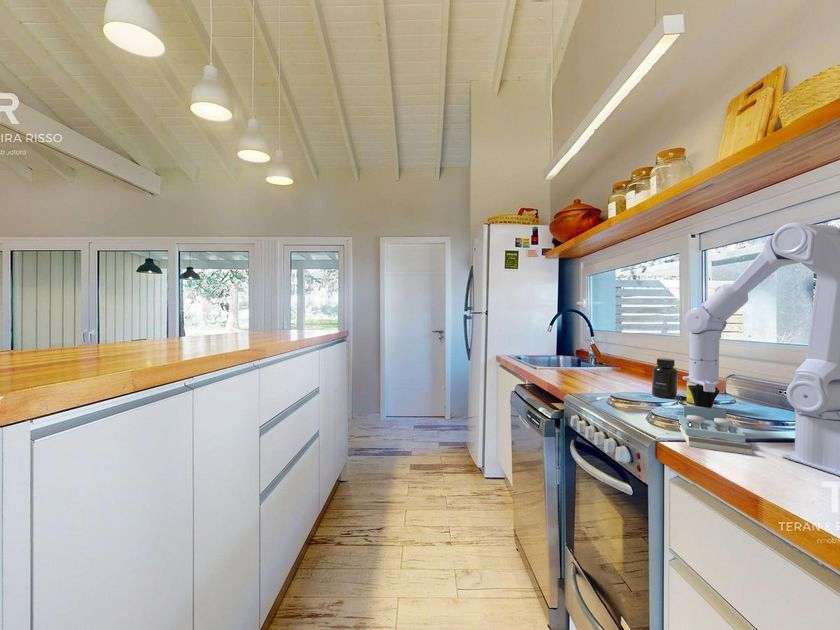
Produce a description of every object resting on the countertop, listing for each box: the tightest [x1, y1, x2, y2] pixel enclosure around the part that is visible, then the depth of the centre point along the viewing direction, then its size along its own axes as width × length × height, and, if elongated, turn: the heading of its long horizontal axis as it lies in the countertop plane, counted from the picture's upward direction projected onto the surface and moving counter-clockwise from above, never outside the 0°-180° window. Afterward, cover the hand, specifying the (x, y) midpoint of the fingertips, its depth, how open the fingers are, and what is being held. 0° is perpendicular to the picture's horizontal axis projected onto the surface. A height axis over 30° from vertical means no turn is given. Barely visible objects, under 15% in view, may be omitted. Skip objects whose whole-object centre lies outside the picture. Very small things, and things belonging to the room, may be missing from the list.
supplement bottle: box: [651, 357, 679, 400], centre depth 124 cm, size 7×7×12 cm
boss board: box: [679, 415, 753, 456], centre depth 86 cm, size 20×10×4 cm, turn 153°
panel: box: [677, 404, 747, 443], centre depth 86 cm, size 12×10×4 cm
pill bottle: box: [686, 380, 714, 408], centre depth 111 cm, size 6×6×11 cm
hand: (702, 416), depth 92 cm, fingers closed
